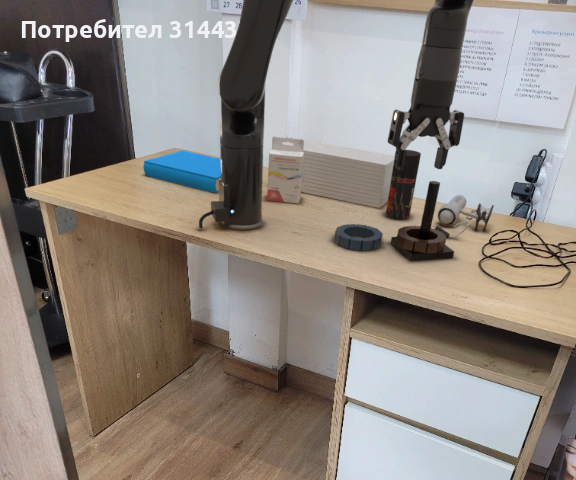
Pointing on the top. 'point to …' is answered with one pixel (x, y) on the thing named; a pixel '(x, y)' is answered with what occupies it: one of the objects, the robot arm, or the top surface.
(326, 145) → the light grey ridged block
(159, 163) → the book
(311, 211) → the top surface
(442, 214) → the clip-on lamp
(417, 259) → the stand
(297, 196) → the ink cartridge box
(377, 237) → the slate ring
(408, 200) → the deodorant
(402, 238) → the walnut ring
